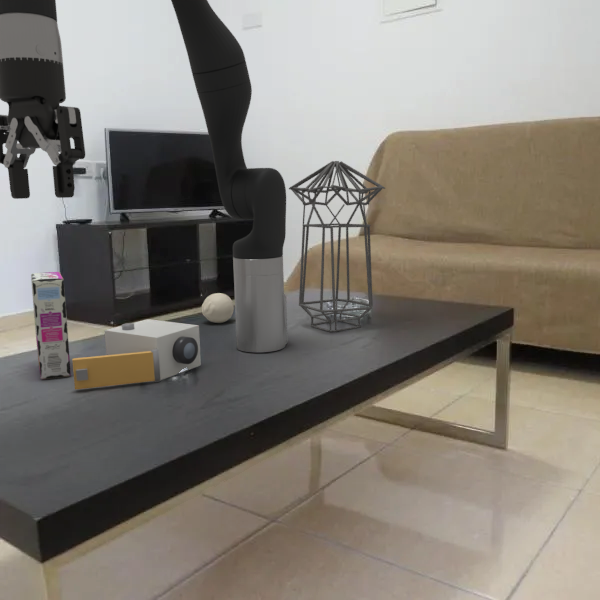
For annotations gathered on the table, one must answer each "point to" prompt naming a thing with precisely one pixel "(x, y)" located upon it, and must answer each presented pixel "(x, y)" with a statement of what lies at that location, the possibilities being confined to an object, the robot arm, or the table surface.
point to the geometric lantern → (327, 173)
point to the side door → (116, 369)
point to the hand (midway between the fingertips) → (42, 198)
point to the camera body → (158, 343)
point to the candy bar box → (51, 325)
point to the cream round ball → (217, 308)
